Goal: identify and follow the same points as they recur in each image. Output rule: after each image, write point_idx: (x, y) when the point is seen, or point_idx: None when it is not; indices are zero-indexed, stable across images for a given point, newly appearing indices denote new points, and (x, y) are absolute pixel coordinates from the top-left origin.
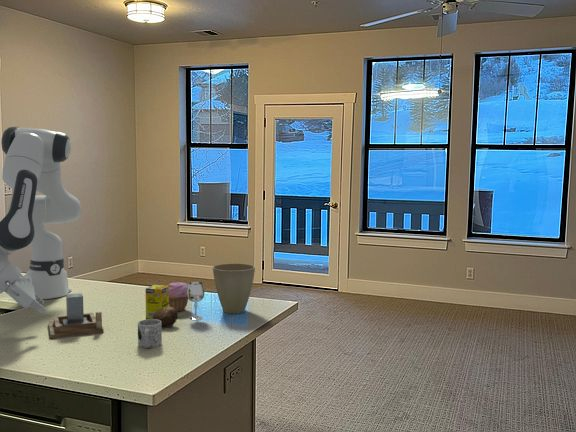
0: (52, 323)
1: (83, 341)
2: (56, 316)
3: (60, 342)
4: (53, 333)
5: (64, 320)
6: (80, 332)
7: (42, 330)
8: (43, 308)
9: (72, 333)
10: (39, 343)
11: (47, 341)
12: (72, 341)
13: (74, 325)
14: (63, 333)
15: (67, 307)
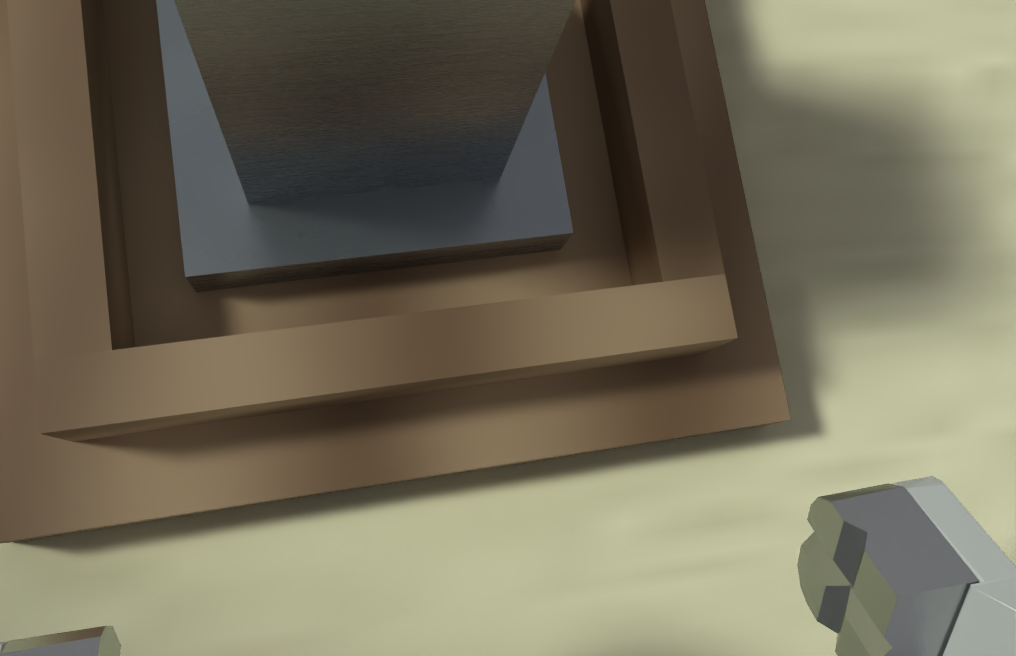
0: (149, 458)
1: (938, 31)
2: (36, 384)
3: (934, 290)
4: (732, 386)
5: (256, 241)
6: (708, 41)
7: (306, 601)
8: (962, 524)
9: (725, 141)
10: None
11: (868, 456)
12: (918, 152)
13: (680, 73)
14: (754, 250)
15: (548, 46)
